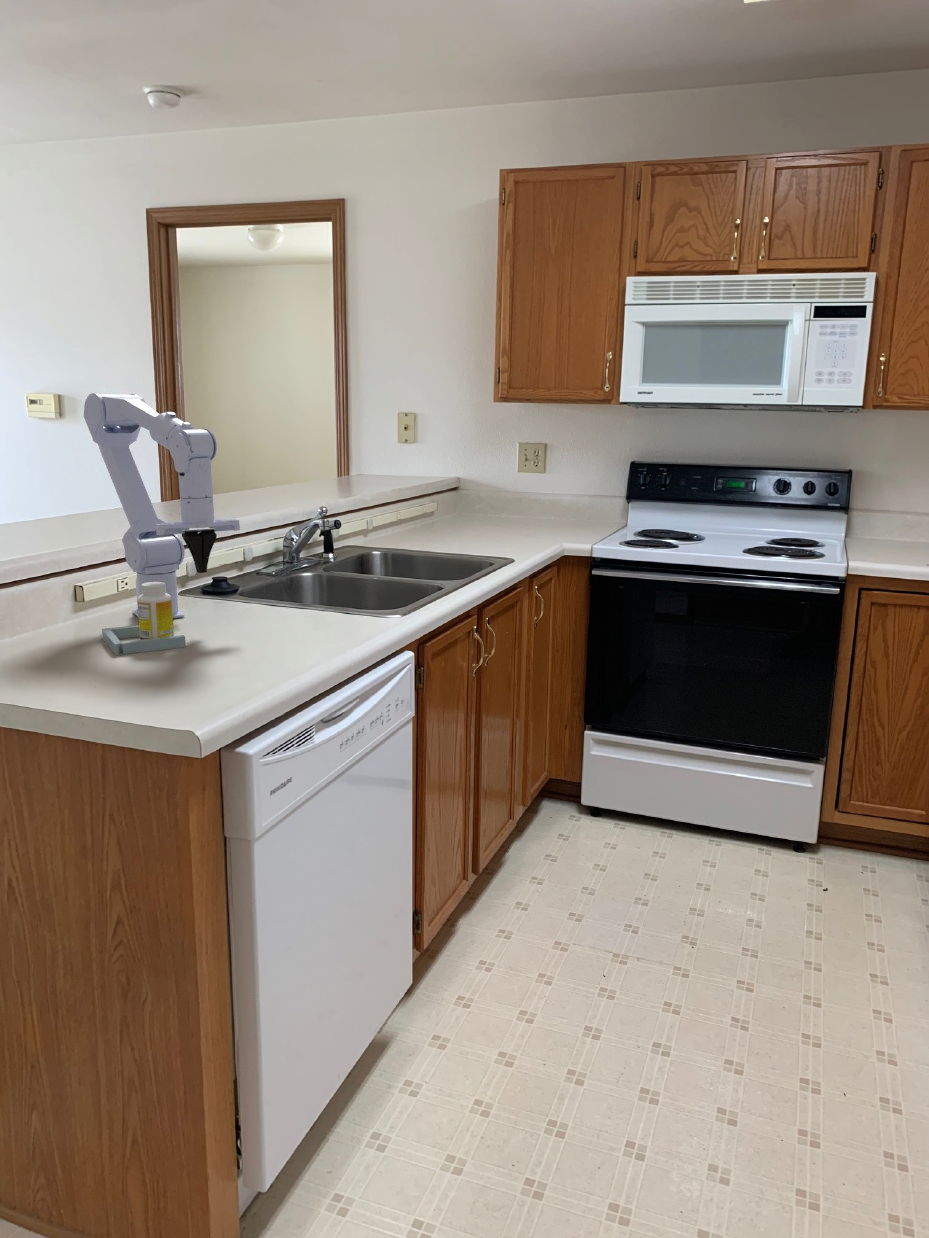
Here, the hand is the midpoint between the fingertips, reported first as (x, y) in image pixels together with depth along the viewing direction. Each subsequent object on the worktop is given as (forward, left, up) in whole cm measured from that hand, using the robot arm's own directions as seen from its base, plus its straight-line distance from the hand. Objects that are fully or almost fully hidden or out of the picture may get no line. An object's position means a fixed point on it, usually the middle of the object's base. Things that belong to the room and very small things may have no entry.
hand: (201, 572), depth 167 cm
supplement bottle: (+7, -10, -11) cm, 16 cm away
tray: (+6, -12, -10) cm, 17 cm away
